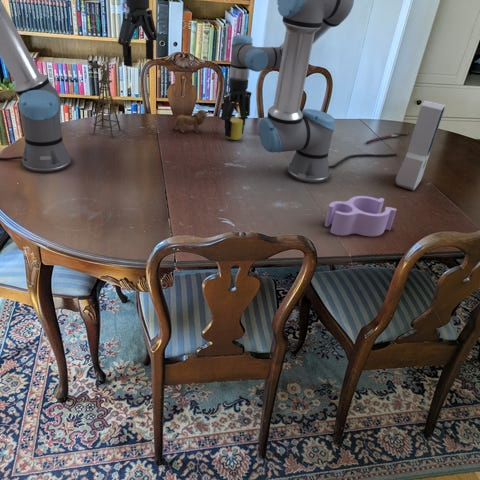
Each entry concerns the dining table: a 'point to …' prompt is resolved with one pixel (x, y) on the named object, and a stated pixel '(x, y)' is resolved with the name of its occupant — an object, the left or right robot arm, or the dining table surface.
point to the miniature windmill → (105, 81)
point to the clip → (359, 216)
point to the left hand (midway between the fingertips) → (139, 62)
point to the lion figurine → (191, 120)
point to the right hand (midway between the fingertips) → (234, 134)
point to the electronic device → (420, 145)
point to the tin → (236, 128)
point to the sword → (384, 137)
